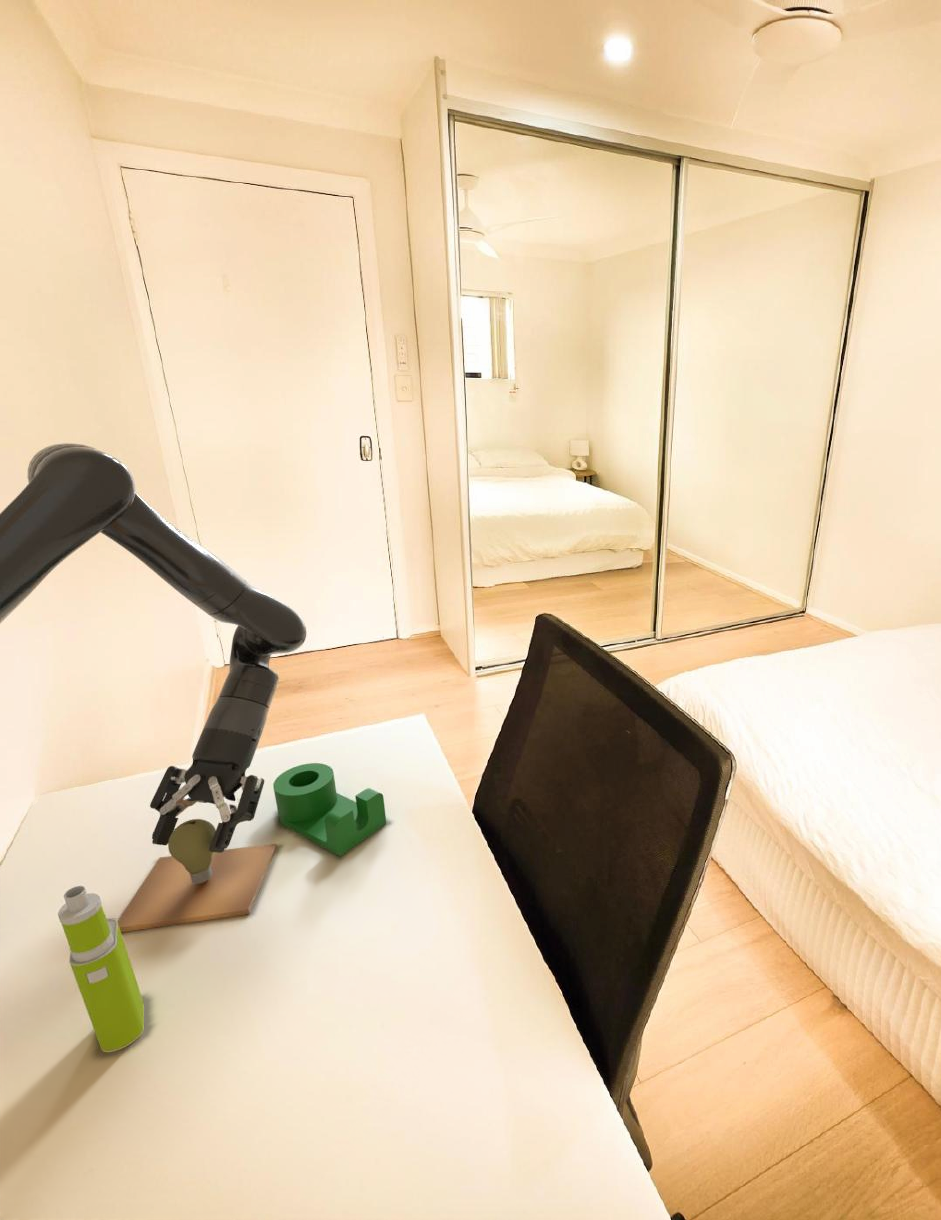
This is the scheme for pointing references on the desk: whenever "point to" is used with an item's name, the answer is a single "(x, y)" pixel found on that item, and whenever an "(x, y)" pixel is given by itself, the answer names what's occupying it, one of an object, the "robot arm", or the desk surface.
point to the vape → (102, 970)
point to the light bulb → (193, 848)
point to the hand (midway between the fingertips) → (187, 848)
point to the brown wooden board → (199, 890)
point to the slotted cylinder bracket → (326, 808)
